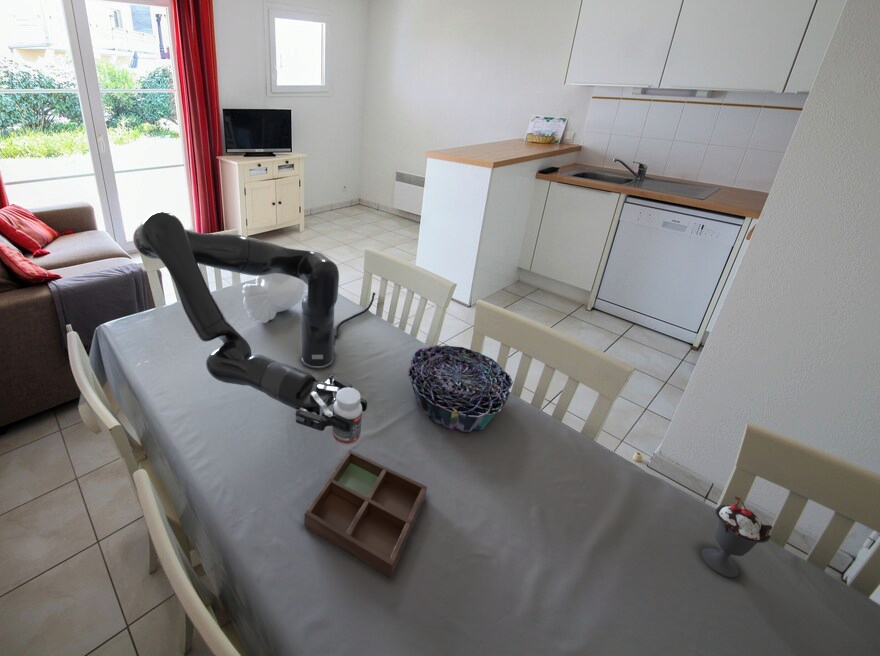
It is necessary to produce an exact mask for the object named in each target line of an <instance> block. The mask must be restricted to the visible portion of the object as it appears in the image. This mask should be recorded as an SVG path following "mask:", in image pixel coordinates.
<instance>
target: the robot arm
mask: <svg viewBox="0 0 880 656" xmlns="http://www.w3.org/2000/svg"><path fill="white" fill-rule="evenodd" d="M132 237H133V238H132V239H133V244H134V246H135V248H136V249H137V251H138V252H139V253H140V254H142V255H143V256H144V257H147V258H149V259H153V260H160V261H161V262H162V263H163V265H164V266H165V267H166V269H167V272H168V273H169V274H170V276H171V278H172V280H173V282H174V285H175V288H176V290H177V293H178V297H179V300H180V303H181V306H182V308H183V311H184V313H185V315H186V317H187V318H188V321H189V323H190V324H191V327H192V329H193V330H194V332H195V333H196V335H197V337H198V338H199V340H200V341H202V342H205V343H208V342H210V341H211V342H212V341H213V340H216V339H219V340H220V341H221V342H222V343H223V344H222V345H220V346H219V347H217V348H216V349H215V350H214V351H212V352H211V353H210V354H209V355H208V357H207V358H206V361H205V367H206V370H207V372H208V374H209V375H210V376H211V377H212V378H214V379H215V380H217V381H219V382H222V383H226V384H231V385H237V386H238V385H240V386H247V387H251V388H253V389H255V390H256V391H259V392H261V393H263V394H265V395H266V396H268V397H270V398H271V399H272V400H275V401H277V402H279V403H281V404H283V405H285V406H288V407H290V408H292V409H294V410H295V423H296V424H297V425H302V426H305V427H308V428H311V429H314V430H316V431H320V432H324V431H325V430H326V428H327V427H332V426H333V427H335V428H337V429H339V430H342V431H345V432H346V431H347V432H350V431H351V429H352V422H351V421H350V420H348V419H346V418H344V417H341V416H339V415H337V414H334V415H333V411H331V410H330V409H329V407H330V406H331V405H334V402H335V401H336V394H337V392H338V391H339V390H340V389H342V388H348V387H349V388H353V389H354V386H353V384H351V383H349V382H348V381H346V380H344V379H342V378H341V377H338V376H337V375H336V374H333V373H332V374H329V375H328V377H329V378H328V379H327V380H325V381H321V380H318V379H316V378H315V376H314V375H313V374H311V373H309V372H307V371H304V370H302V369H299V368H297V367H294V366H292V365H290V364H287V363H284V362H280V361H277V360H275V359H272V358H271V357H269V356H265V355H263V354H254V355H252V353H253V352H252V348H251V346H250V344H249V342H248V341H247V340H246V338H245V337H244V336H242V335H241V334H240V333H239V332H238V331H237V330H236V328H235V327H234V326H232V324H231V323H230V322H229V321H228V320H227V318H226V317H225V315H224V312H223V311H222V309H221V308H220V306H219V304H218V302H217V300H216V298H215V297H214V295H213V293H212V292H211V289H210V288H209V286H208V284H207V281H206V279H205V277H204V275H203V273H202V271H201V269H200V265H202V266H205V267H206V266H207V267H210V268H213V269H217V270H223V271H228V272H232V273H236V274H240V275H246V276H253V277H254V276H255V277H258V276H263V275H269V274H275V273H279V274H285V275H289V276H293V277H296V278H298V279H301V280H302V281H304V283H305V285H307V295H305V296H304V297H302V299H301V362H302V364H303V365H305V366H306V367H307V368H310V369H314V370H321V369H325V368H328V367H330V366H331V365H332V364H333V362H334V356H335V345H336V339H338V337H339V330H340V327H341V326H342V325H343V324H345V323H346V322H348V321H351V320H353V319H354V318H355V319H356V317H359V316H361V315H363V314H365V313H366V312H367V311H368V310H370V308H371V307H372V304H373V303H374V300H375V295H376V292H373V293H372V295H371V299H370V302H369V304H368V306H367V307H366V308H365V309H363V310H362V311H360V312H358V313H357V312H356V314H353V315H351V316H349V317H347V318H345V319H343V320H341V321H340V322H339V323H338V324H337V325H336V328H335V306H336V303H337V301H338V297H339V284H340V271H339V268H338V266H337V264H336V263H335V262H334V261H333V260H332V259H330V258H329V257H327V256H326V255H325V254H322V253H321V252H318V251H314V250H313V251H312V250H306V249H305V250H304V249H295V248H290V247H285V246H283V245H278V244H276V243H272V242H269V241H265V240H262V239H259V238H254V237H252V236H251V237H250V236H247V235H242V234H235V233H205V232H202V233H201V232H198V231H197V232H196V231H193V230H188V229H186V228H185V226H184V224H183V223H182V220H180V218H178V217H177V216H176V215H175V214H173V213H170V212H167V211H157V212H154V213H152V214H150V215H149V216H147V217H146V218H145V219H144V220H143V221H141V223H139V225H138V226H137V227H136V229H135V230H134V233H133V236H132ZM334 395H335V397H334ZM360 403H361V405H362V412H366V411H367V409H368V401H367V400H366V399H365V398H363V397H361V401H360Z"/></svg>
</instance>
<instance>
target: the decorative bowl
mask: <svg viewBox="0 0 880 656" xmlns="http://www.w3.org/2000/svg"><path fill="white" fill-rule="evenodd" d="M407 377H408V378H409V380H410V383H411V386H412V390H413V393H414V396H415V399H416V400H417V402H418V405H419V406H420V408H421V410H422V412H423V413H424V415H426V416H428V417H430V418H431V419H432V421H433V422H435V423H437V424H438V425H442V426H444V427H445V428H447V429H450V430H454V429H456V430H458V431H460V432H462V433H471V432H472V431H473V430H476V431H481V430H484V429H485V427H486V426H487V425H488V424H489V423H490V421H491V420H492V419H493V418H494V417H495V415H496V414H497V413H500V412H501V411H502V408H503V407H504V406H506V403H507V401H508V399H509V397H510V394H511V392H510V389H511V388H512V386H513V385H514V381H513V379H512V376H511V375H510V374H508V373H507V372H506V370H504V369H503V367H502V366H501V365H500V364H499V363H498V362H497V361H495V360H494V359H493V358H491V357H489V356H487V355H484V354H482V353H481V352H478V351H476V350H472V349H469V348H466V347H463V346H454V345H446V344H445V345H438V344H435V345H429V346H426V347H422V348H421V347H420V348H419V349H417V350H416V351H415V352H414V354H413V356H412V357H411V360H410V361H409V367H408V368H407Z"/></svg>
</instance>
